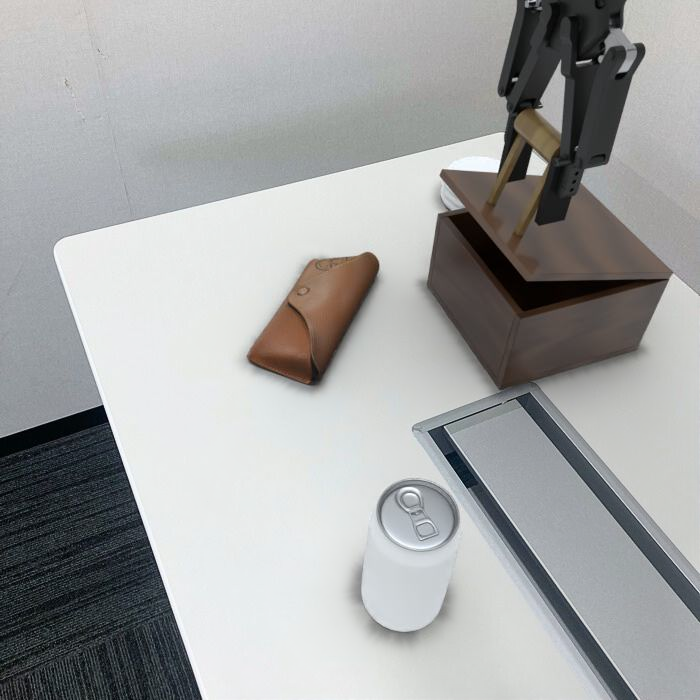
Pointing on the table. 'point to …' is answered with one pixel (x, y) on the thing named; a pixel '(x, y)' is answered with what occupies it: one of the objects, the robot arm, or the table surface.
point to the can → (410, 554)
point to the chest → (531, 307)
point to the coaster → (467, 165)
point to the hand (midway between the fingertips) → (529, 199)
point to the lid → (555, 238)
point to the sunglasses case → (315, 317)
